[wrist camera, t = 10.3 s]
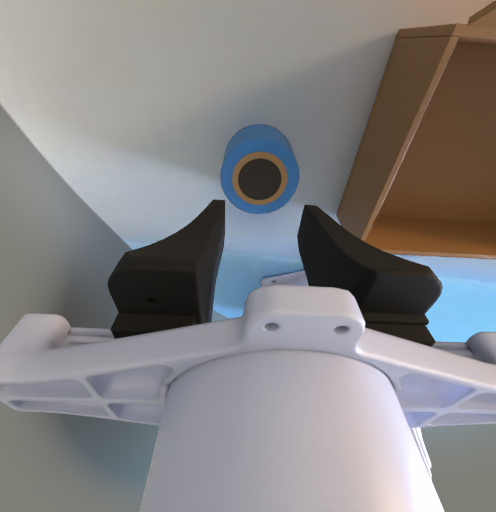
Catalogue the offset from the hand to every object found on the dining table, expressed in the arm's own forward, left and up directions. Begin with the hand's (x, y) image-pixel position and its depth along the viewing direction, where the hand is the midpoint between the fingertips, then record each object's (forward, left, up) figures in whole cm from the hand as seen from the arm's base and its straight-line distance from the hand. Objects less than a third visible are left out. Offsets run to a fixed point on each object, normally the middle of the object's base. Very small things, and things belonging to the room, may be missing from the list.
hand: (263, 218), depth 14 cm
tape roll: (0, 0, -8) cm, 8 cm away
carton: (+16, -4, -8) cm, 19 cm away
